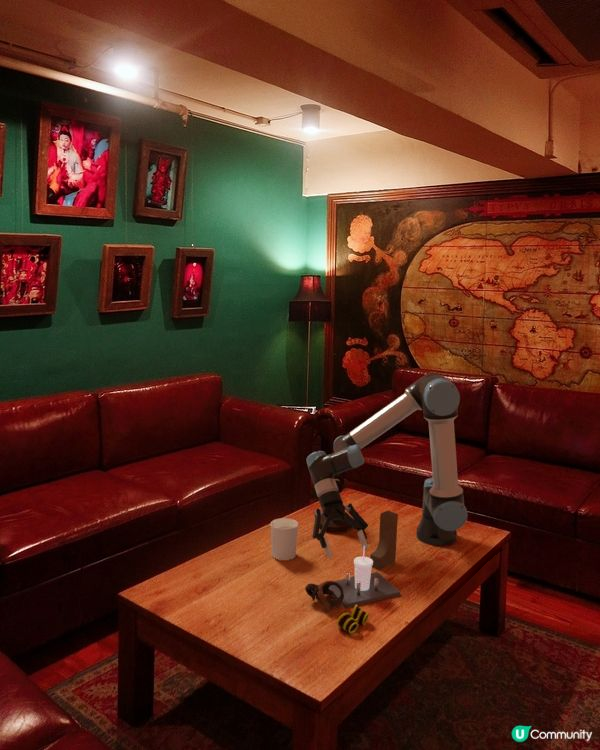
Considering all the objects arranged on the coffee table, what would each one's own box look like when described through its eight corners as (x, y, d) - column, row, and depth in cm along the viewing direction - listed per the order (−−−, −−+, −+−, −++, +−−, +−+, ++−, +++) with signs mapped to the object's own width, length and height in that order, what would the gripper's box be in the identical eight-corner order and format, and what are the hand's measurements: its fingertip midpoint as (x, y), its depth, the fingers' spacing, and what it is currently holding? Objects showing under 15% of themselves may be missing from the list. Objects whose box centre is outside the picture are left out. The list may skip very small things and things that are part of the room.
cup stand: (376, 575, 218) (377, 560, 218) (400, 595, 206) (401, 579, 205) (323, 586, 210) (324, 571, 209) (344, 608, 198) (345, 592, 197)
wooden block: (379, 570, 222) (382, 520, 218) (369, 566, 225) (371, 516, 221) (395, 562, 228) (398, 513, 225) (385, 558, 231) (387, 509, 228)
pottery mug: (341, 596, 205) (348, 581, 200) (336, 623, 198) (343, 608, 193) (304, 585, 206) (310, 570, 201) (298, 611, 198) (304, 596, 193)
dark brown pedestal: (317, 517, 265) (319, 470, 262) (353, 519, 264) (356, 472, 260) (314, 532, 251) (316, 482, 247) (353, 535, 249) (355, 485, 246)
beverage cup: (351, 582, 211) (353, 541, 208) (370, 582, 211) (372, 541, 209) (353, 592, 205) (355, 550, 202) (373, 592, 205) (375, 550, 203)
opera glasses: (349, 639, 184) (353, 624, 182) (334, 628, 187) (338, 614, 185) (368, 624, 191) (372, 610, 189) (354, 614, 194) (357, 600, 192)
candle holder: (265, 558, 228) (265, 526, 226) (276, 547, 237) (277, 516, 235) (291, 564, 225) (291, 531, 222) (301, 552, 234) (302, 520, 231)
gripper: (355, 494, 233) (376, 551, 223) (292, 504, 223) (310, 564, 212) (363, 485, 228) (385, 542, 217) (299, 494, 217) (318, 555, 207)
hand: (348, 553), depth 215 cm, fingers open, 13 cm apart
